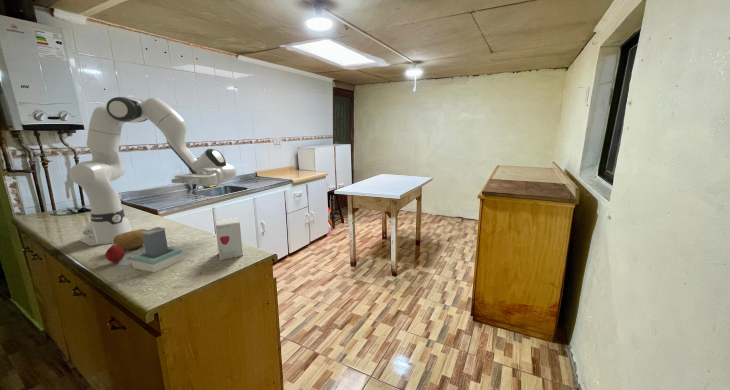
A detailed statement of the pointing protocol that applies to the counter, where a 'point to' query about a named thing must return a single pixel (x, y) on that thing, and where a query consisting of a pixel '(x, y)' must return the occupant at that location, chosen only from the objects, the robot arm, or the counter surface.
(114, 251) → the onion
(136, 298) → the counter surface
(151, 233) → the blue-grey box
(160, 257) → the display stand
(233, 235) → the supplement box
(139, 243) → the potato
